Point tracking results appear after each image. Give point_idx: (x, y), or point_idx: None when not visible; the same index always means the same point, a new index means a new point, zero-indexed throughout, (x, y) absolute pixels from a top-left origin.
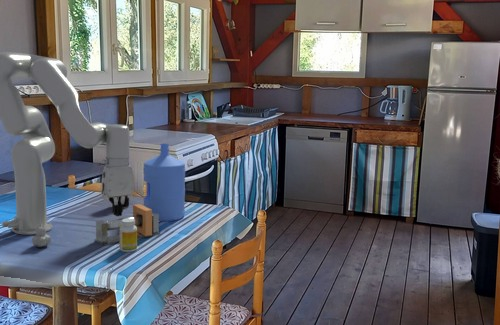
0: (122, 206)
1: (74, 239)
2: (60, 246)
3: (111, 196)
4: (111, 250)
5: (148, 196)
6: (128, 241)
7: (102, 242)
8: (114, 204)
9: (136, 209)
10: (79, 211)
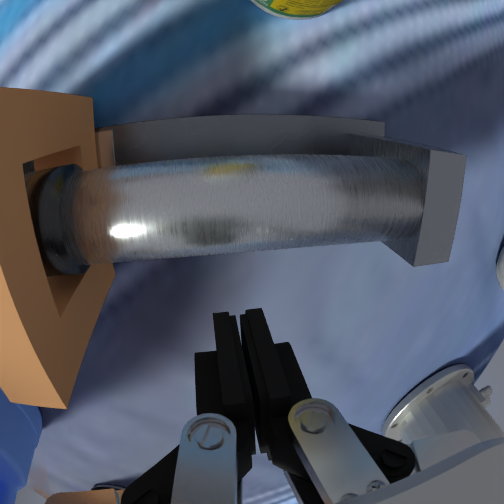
0: (199, 398)
1: (421, 279)
2: (483, 223)
3: (494, 448)
4: (371, 25)
5: (8, 480)
6: None
7: (380, 136)
8: (327, 408)
9: (45, 322)
10: (244, 495)
